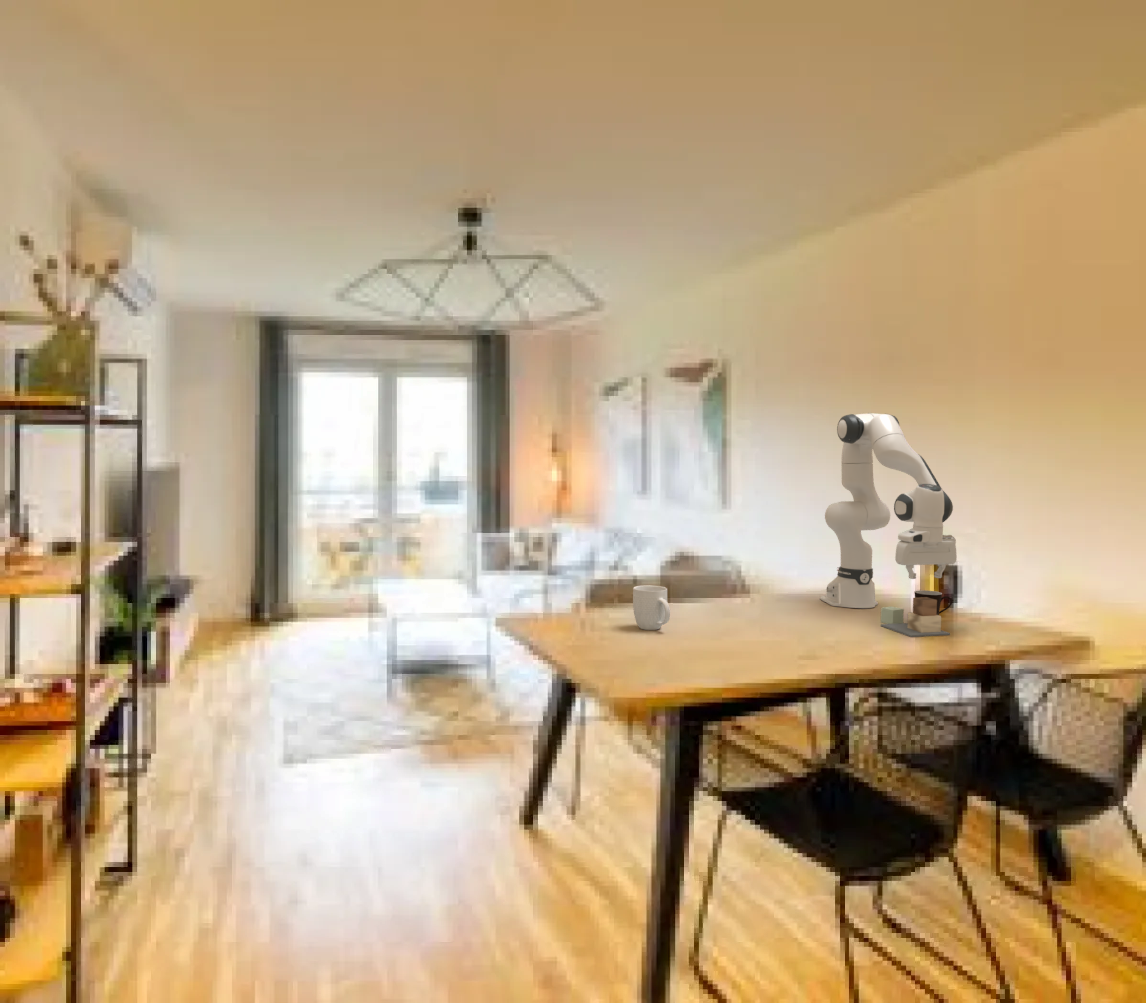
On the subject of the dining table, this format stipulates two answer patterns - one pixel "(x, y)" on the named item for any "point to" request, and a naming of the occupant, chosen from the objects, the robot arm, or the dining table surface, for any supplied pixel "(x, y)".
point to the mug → (650, 606)
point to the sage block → (891, 615)
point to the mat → (905, 630)
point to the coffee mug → (935, 596)
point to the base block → (924, 623)
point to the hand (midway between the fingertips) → (925, 578)
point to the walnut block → (924, 606)
